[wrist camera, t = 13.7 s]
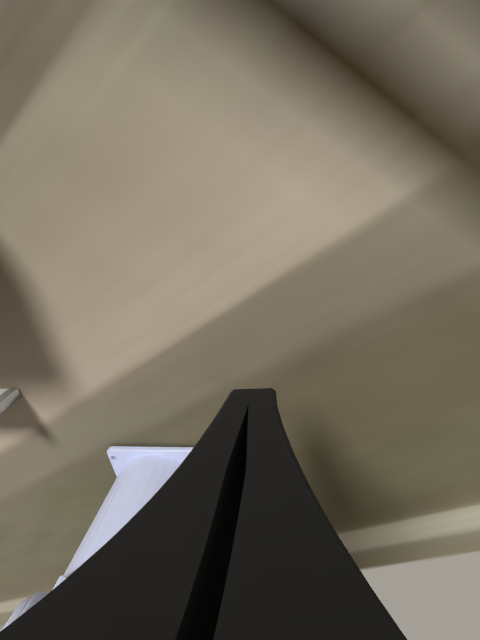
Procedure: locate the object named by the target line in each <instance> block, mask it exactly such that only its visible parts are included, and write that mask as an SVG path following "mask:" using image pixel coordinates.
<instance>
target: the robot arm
mask: <svg viewBox="0 0 480 640" xmlns="http://www.w3.org/2000/svg"><path fill="white" fill-rule="evenodd" d="M107 454H108V457H109V459H110V461H111V464H112V466H113V469H114V471H115V473H116V476H117V478H116V480H115V482H114V484H113V486H112V487H111V489H110V491H109V493H108V495H107V497H106V498H105V500H104V502H103V504H102V506H101V508H100V509H99V511H98V513H97V515H96V517H95V519H94V520H93V522H92V524H91V526H90V528H89V530H88V531H87V533H86V535H85V537H84V539H83V540H82V542H81V544H80V546H79V548H78V550H77V551H76V553H75V555H74V557H73V559H72V561H71V562H70V564H69V566H68V568H67V570H66V572H65V573H64V575H61V576H60V577H59V579H58V581H57V582H56V584H55V586H54V588H53V590H52V591H51V592H50V593H46V592H43V591H37V592H36V593H35V594H34V595H33V596H31V597H29V598H27V599H25V600H24V601H22V602H21V603H20V604H19V606H18V607H17V608H16V610H15V611H14V612H13V614H12V615H11V617H10V618H9V620H8V621H7V623H6V624H5V626H4V627H3V629H2V630H1V632H0V640H407V639H406V637H405V636H404V634H403V633H402V632H401V630H400V629H399V628H398V626H397V625H396V623H395V622H394V620H393V619H392V617H391V616H390V615H389V613H388V611H387V610H386V609H385V607H384V606H383V604H382V603H381V601H380V600H379V599H378V597H377V596H376V594H375V593H374V591H373V590H372V588H371V587H370V585H369V584H368V582H367V581H366V579H365V577H364V576H363V574H362V573H361V571H360V570H359V568H358V566H357V565H356V563H355V562H354V560H353V559H352V557H351V555H350V554H349V552H348V551H347V549H346V548H345V546H344V545H343V543H342V541H341V540H340V538H339V537H338V535H337V533H336V532H335V530H334V528H333V527H332V525H331V523H330V521H329V520H328V518H327V516H326V515H325V513H324V511H323V509H322V508H321V506H320V504H319V502H318V500H317V499H316V497H315V495H314V493H313V491H312V489H311V487H310V485H309V484H308V482H307V480H306V478H305V476H304V474H303V472H302V469H301V467H300V465H299V463H298V461H297V459H296V457H295V454H294V452H293V450H292V447H291V445H290V442H289V440H288V437H287V435H286V432H285V430H284V427H283V424H282V421H281V418H280V414H279V411H278V407H277V399H276V391H275V390H273V389H272V388H266V389H235V390H233V391H232V392H231V393H230V394H229V396H228V398H227V399H226V401H225V403H224V404H223V406H222V407H221V409H220V411H219V412H218V414H217V415H216V417H215V418H214V420H213V421H212V423H211V424H210V426H209V427H208V428H207V430H206V431H205V433H204V434H203V436H202V437H201V438H200V440H199V441H198V443H197V444H196V445H195V447H128V446H112V447H109V449H108V451H107Z"/></svg>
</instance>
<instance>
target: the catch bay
mask: <svg viewBox="0 0 480 640" xmlns="http://www.w3.org/2000/svg"><path fill="white" fill-rule="evenodd" d="M20 397H22V395H21V394H20V392H19V390H18V388H6V389H0V414H1V413H2V412H4V411H5V410H6V409H7V408H8V407H10V406H11V405H12V404H13V403H14V402H16V401H17V400H18V399H19V398H20Z"/></svg>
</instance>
